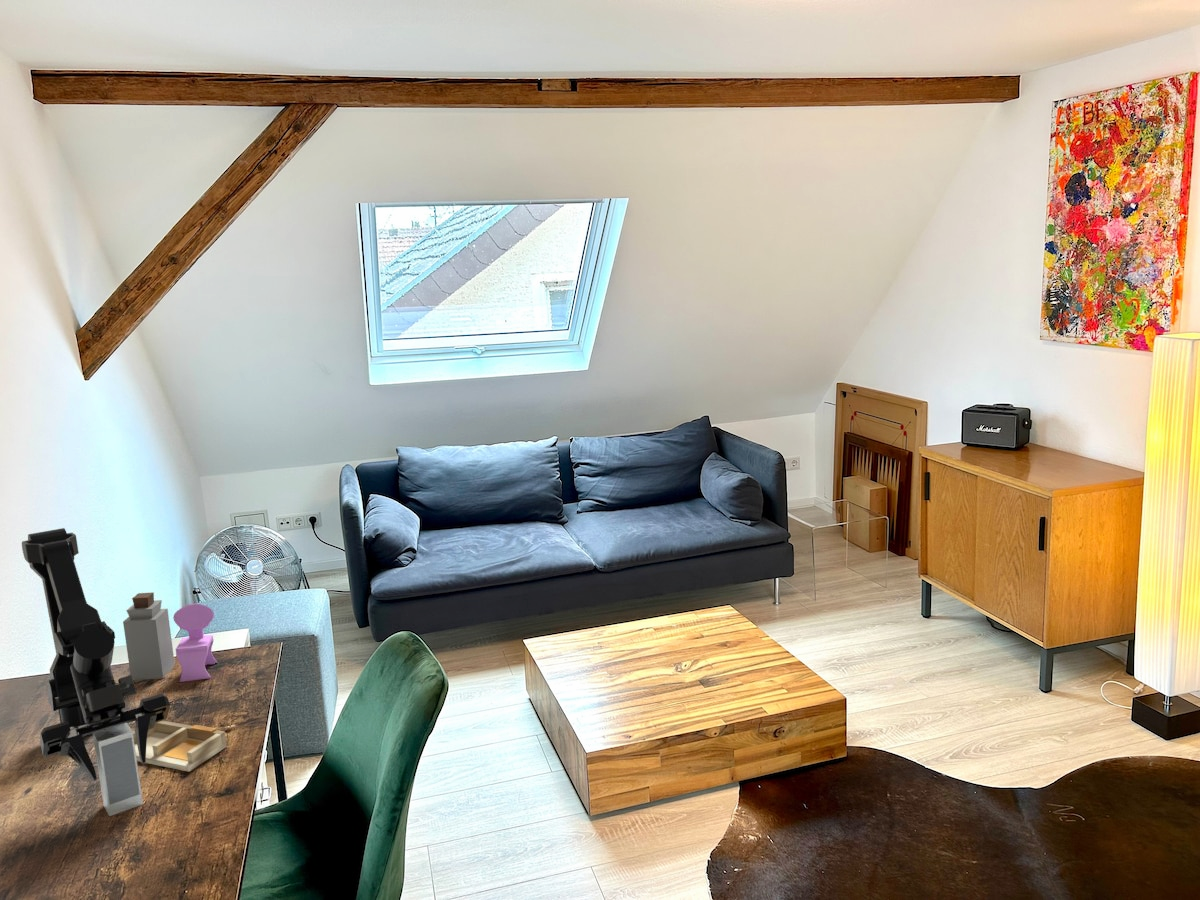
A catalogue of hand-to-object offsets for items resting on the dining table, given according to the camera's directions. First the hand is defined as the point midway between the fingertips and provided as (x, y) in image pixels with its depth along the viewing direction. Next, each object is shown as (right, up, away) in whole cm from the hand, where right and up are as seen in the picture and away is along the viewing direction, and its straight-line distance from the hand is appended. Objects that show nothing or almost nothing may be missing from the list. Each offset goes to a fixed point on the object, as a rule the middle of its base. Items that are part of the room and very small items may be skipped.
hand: (120, 771), depth 147 cm
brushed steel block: (-1, -6, +2) cm, 7 cm away
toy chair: (-11, +3, +54) cm, 55 cm away
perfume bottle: (-21, +2, +54) cm, 58 cm away
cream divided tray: (-1, -3, +19) cm, 19 cm away
